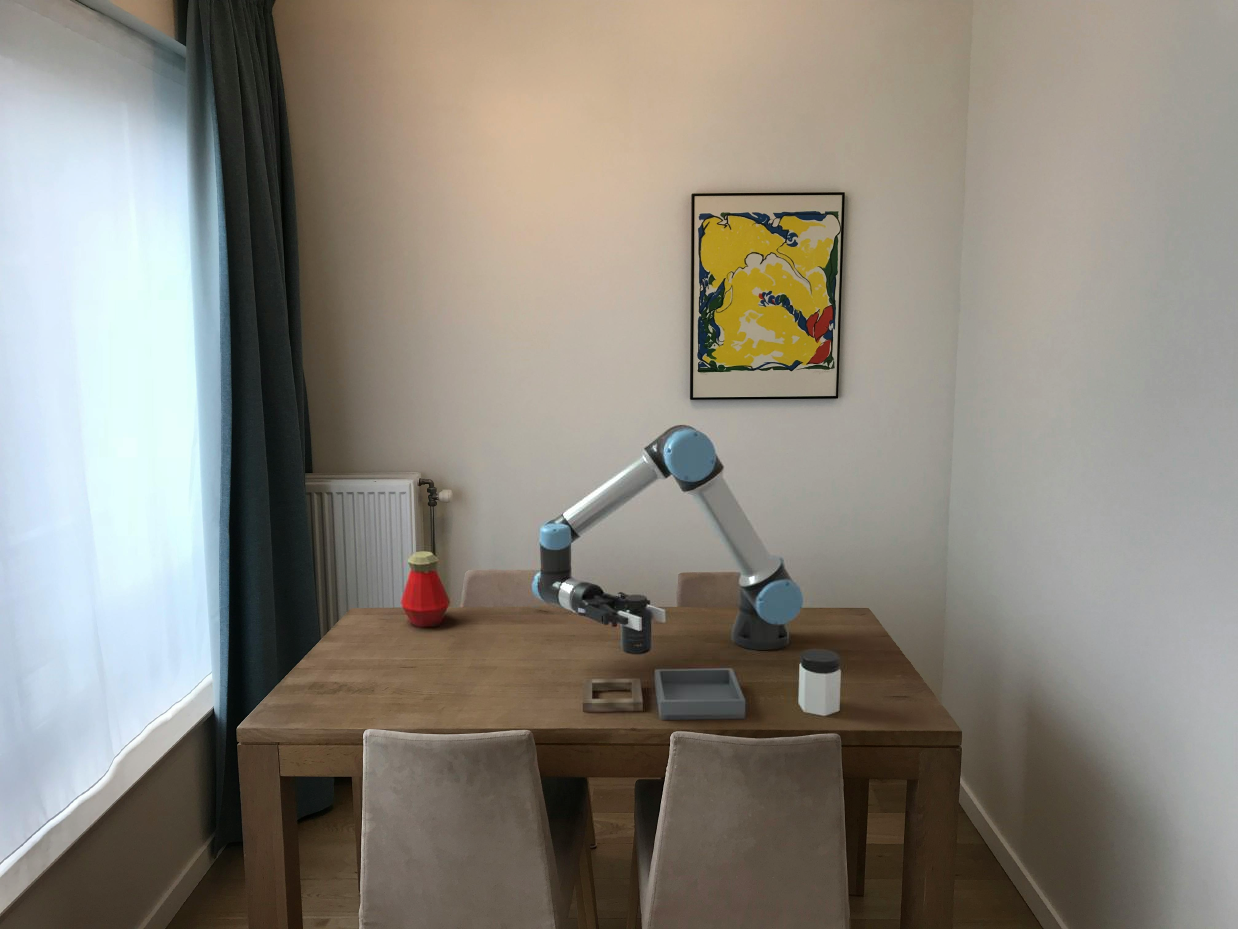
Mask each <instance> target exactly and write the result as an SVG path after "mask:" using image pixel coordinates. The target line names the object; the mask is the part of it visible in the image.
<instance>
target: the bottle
mask: <svg viewBox="0 0 1238 929" xmlns="http://www.w3.org/2000/svg"><path fill="white" fill-rule="evenodd" d="M438 562H439V558H438V557H437V556H436V555H435V554H434V553H433V552H431V551H417V552H413V554H412V555H410V556H409V558H407V563H408V565H409V567H410V570H409V574H408V577H407V582H406V583H405V587H404V591H403V593H402V597H401V601H400V605H401V607H402V608H403V610H404V612H405V614H406V616H407V618H408V619H409V622H410V623H411V625H412V626H413V627H417V628H423V629H424V628H425V629H426V628H434V627H437V626H440V625H441V623H442V621H443V618H444V616H445V614H446V612H447V610H448V607H449V605H450V603H451V601H450V598H449V596H448V593H447V592H446V590H445V587H444V585H443V583H442V580H441V578H440V576H439V574H438V572H437V569H436V568H437V566H438Z"/></svg>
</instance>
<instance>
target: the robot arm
mask: <svg viewBox="0 0 1238 929" xmlns="http://www.w3.org/2000/svg"><path fill="white" fill-rule="evenodd" d="M724 472H725V466H724V465H723V463H722V461H721V460H720V458H719V457H718V454H717V452H716V449H715V446H714V443H713V442H712V441H711V439H710V438H709V437H708V436H707V435H706V434H704V432H702V431H700V430H698V429H696V428H695V427H693V426H690V425H686V424H679V425H678V424H677V425H673V426H671V427H669V428H668V429H666V430H665V431H664V432H662V433H661V434H660V435H658V437H656V438H655V439H653V441H651V442H650V443H648V445H647V446H645V447H644V448H643V449H642V452H641V455H639V456H638V457H637V458H636V459H634V460H633V461H631V462H630V463H629V464H627V465H626V466H625V467H623V468H622V469H621V470H619V471H618V472H617V473H615V474H614V475H613V476H612V477H609V479H607V480H605V482H603V483H602V484H600V485H599V486H598V487H596V488H595V489H594V490H592V491H590V492H589V493H588V494H587V495H585V496H584V497H583V498H581V499H580V500H579V501H578V502H576V503H575V504H574V505H572V506H571V507H569V508H568V509H567V510H565V511H564V512H563V513H561V514H560V515H558V516H557V517H556V518H552V519H549V520H547V521H546V522H545V523H544V524H543V525H541V527H540V529H539V541H538V542H539V554H540V556H539V558H540V571H539V572H537V573H536V574H535V575H534V576H533V577H534V578H533V581H532V583H531V589H532V593H533V594H534V596H535V597H536V598H537V599H538V600H541V601H543V602H544V603H546V604H550V605H553V606H557V607H561V608H563V609H566V610H568V611H572V612H573V613H575V614H577V615H578V616H581V617H585V618H589V619H591V620H593V621H595V622H597V623H600V624H602V625H605V626H607V625H610V623H611V627H613V628H616V627H617V626H618V624H619V625H620V626H621V625H624V626H627V627H630V628H633V629H635V630H638V631H640V630H642V622H641V617H638V616H635V615H632V614H629V613H626V612H623V611H622V610H623V609H624V608H626V607H625V598H626V596H629V595H630V594H626V593H624V592H622V591H620V592H617V595H613V594H610V593H606V592H604V590H603V589H602V587H601V586H599V585H598V584H594V583H592V582H588V581H586V580H583V579H578V578H574V577H573V575H572V543H574V542H575V541H577V540H578V539H579V538H581V537H582V536H583V535H584V534H586V533H587V532H589V531H590V530H591V529H593V528H594V527H595V526H597V525H598V524H600V523H601V522H602V521H604V520H605V519H606V518H608V517H609V516H610V515H612V514H613V513H615V512H616V511H618V509H620V508H621V507H623V506H624V505H625V504H627V503H628V502H630V501H631V500H632V499H634V498H635V497H636V496H637V495H639V494H641V493H642V492H643V491H644V490H646V489H647V488H649V487H650V486H652V484H654V483H656V482H657V481H658V480H666V479H668V478H669V477H671V476H672V477H673V479H674V480H675V482H676V483H677V485H678V487H679V488H680V489H681V491H682V494H683V493H684V494H687V495H691V496H692V497H693V499H694V500H695V502H696V504H697V506H698V507H699V509H700V511H701V512H702V514H703V515H704V517H705V518H706V521H708V523H709V526H711V528H712V530H713V532H714V533H715V534H716V537H717V538H718V540H719V541H720V543H721V544H722V546H723V547H724V549H725V551H726V553H727V554H728V556H729V558H730V560H732V562H733V564H734V566H735V567H736V568H737V570H738V611H737V615H736V617H735V621H734V623H733V627H732V629H731V637H730V638H731V641H732V643H734V644H735V645H736V646H739V647H742V648H744V649H748V650H755V651H757V650H758V651H773V650H779V649H782V648H785V647H786V646H788V645H789V643H790V633H789V629H788V627H787V625H788V624H787V623H790V622H791V621H793V620H794V619H795V618H796V617H798V615H799V614H800V612H801V610H802V608H803V603H804V596H803V592H802V590H801V588H800V585H798V584H797V583H796V582H795V581H794V580H793V578H792V577H791V576H790V573H789V572H788V570H787V569H786V565H785V560H784V558H783V557H782V556H778V555H772V554H770V553H769V551H768V549H767V547H766V546H765V544H764V542H762V539H761V538H760V536H759V534H758V532H757V531H756V530H755V528H754V527H753V525H752V523H751V522H750V520H749V518H748V517H747V515H746V513H745V511H744V510H743V508H742V506H741V505H740V504H739V501H738V500H737V498H736V497H735V495H734V494H733V492H732V489H731V488H730V486H729V485H728V483H727V482H726V480H725V478H724V477H723V475H724ZM647 608H648V609H649V610H650V611H651V614H652V620H654V621H656V622H660V623H666V609H664V608H660V607H657V606H653V605H651V600H650V599H647Z"/></svg>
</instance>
